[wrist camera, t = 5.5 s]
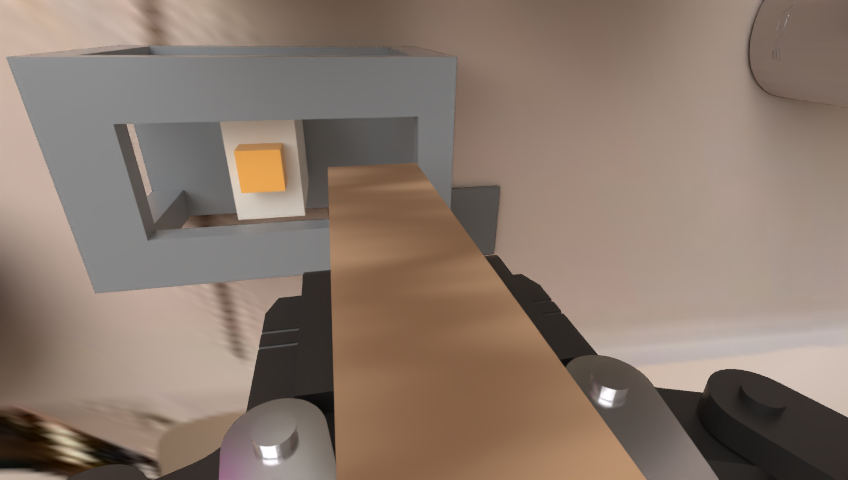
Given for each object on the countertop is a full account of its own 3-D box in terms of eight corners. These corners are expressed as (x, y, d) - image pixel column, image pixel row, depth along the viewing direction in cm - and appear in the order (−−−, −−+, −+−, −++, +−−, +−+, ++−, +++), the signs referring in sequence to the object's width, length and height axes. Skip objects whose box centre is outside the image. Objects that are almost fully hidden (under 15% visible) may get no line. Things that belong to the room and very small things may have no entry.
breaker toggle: (298, 86, 23) (290, 106, 17) (308, 179, 26) (304, 225, 20) (239, 86, 23) (209, 108, 17) (254, 182, 25) (233, 230, 19)
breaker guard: (415, 47, 25) (456, 56, 17) (414, 197, 29) (448, 261, 21) (119, 45, 22) (6, 56, 14) (164, 212, 26) (95, 293, 18)
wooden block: (416, 163, 15) (842, 750, 3) (416, 241, 16) (705, 885, 4) (327, 167, 15) (347, 934, 2) (335, 248, 16) (373, 1024, 3)
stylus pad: (497, 185, 29) (500, 187, 29) (491, 251, 32) (493, 253, 31) (434, 189, 29) (435, 191, 28) (432, 256, 31) (433, 259, 30)
